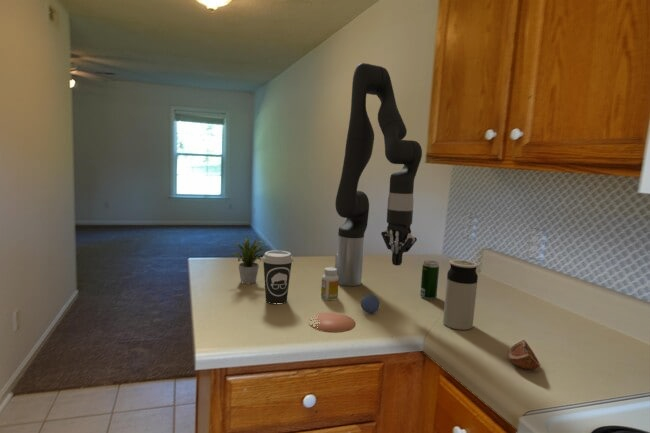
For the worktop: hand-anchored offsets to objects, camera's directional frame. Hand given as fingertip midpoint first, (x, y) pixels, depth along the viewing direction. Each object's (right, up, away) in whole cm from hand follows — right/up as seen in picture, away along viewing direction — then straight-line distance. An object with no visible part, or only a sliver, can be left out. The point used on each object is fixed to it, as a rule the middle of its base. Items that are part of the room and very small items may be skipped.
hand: (396, 264), depth 128 cm
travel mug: (+16, -16, -9) cm, 24 cm away
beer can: (+13, -13, +13) cm, 22 cm away
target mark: (-20, -14, -12) cm, 27 cm away
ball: (-8, -11, -4) cm, 14 cm away
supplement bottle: (-20, -12, +7) cm, 25 cm away
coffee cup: (-37, -12, +3) cm, 39 cm away
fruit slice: (+23, -20, -32) cm, 44 cm away
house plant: (-48, -9, +19) cm, 53 cm away
